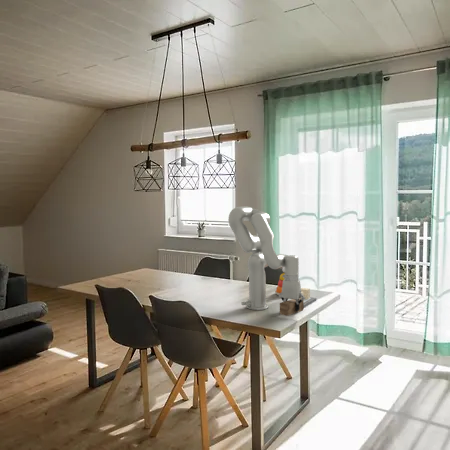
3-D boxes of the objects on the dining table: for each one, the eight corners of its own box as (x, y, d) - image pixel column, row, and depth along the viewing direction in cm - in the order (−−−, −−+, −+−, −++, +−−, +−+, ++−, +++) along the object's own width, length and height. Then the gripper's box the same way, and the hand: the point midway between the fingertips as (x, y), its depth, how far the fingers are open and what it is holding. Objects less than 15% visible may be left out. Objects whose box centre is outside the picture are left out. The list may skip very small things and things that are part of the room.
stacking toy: (279, 291, 290) (279, 262, 288) (300, 293, 283) (300, 264, 282) (271, 295, 277) (271, 265, 276) (292, 298, 270) (293, 267, 269)
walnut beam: (287, 315, 232) (287, 304, 232) (279, 313, 236) (279, 303, 235) (303, 310, 242) (303, 299, 242) (296, 308, 246) (296, 298, 246)
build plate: (304, 307, 248) (304, 294, 247) (286, 305, 253) (286, 292, 253) (316, 300, 264) (316, 288, 264) (299, 298, 270) (299, 286, 270)
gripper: (274, 277, 239) (274, 309, 240) (303, 280, 230) (303, 313, 231) (280, 275, 246) (280, 306, 247) (309, 278, 236) (309, 310, 238)
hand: (291, 309), depth 239 cm, fingers closed on walnut beam, 5 cm apart
